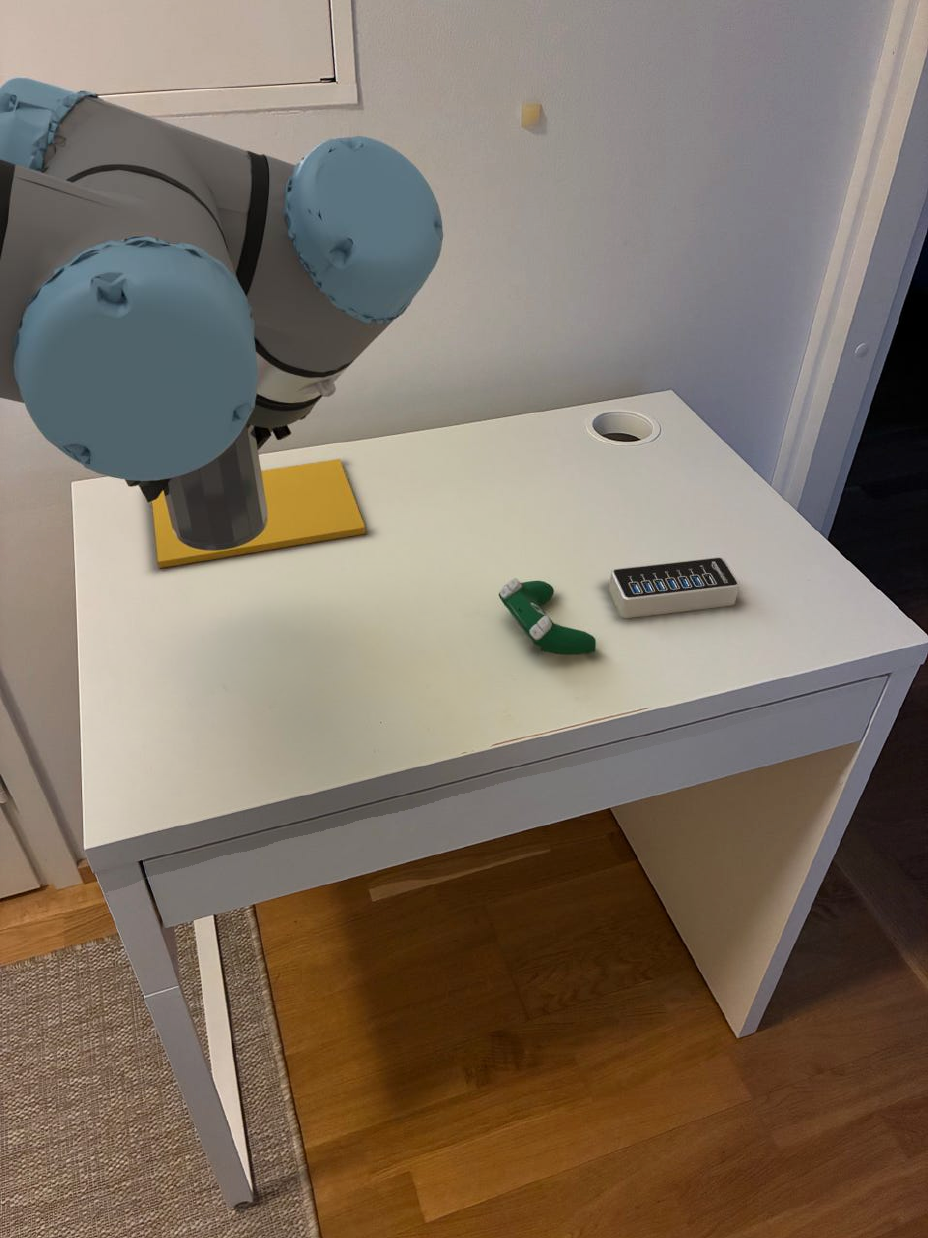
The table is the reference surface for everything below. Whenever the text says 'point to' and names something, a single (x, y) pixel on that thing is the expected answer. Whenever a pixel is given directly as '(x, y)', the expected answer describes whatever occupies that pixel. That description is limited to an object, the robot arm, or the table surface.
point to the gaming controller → (543, 619)
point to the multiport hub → (673, 587)
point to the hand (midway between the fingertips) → (191, 466)
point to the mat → (279, 514)
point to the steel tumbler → (220, 498)
